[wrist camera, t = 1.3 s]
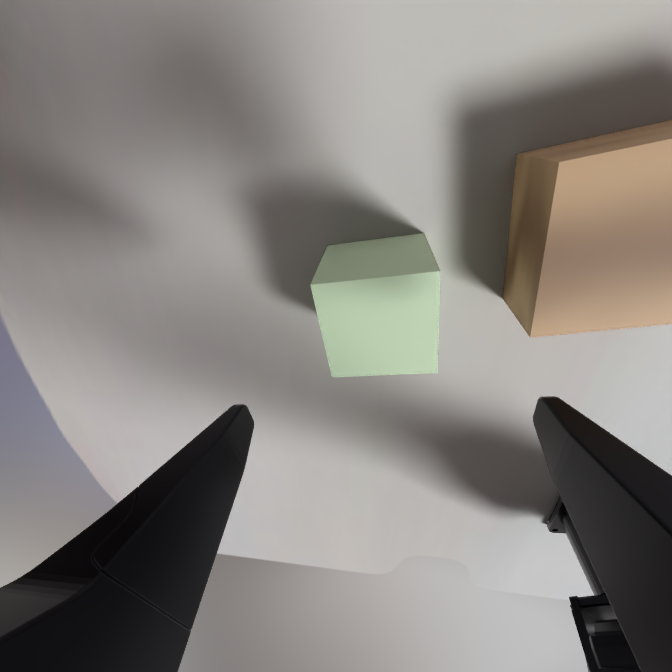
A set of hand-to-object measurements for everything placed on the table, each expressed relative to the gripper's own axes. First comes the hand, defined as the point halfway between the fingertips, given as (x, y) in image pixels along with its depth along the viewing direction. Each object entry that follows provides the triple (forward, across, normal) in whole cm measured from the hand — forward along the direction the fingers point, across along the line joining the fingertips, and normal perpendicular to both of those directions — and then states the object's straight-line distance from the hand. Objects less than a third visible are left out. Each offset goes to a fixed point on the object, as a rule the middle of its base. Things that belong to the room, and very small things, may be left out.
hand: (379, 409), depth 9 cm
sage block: (+9, 0, 0) cm, 9 cm away
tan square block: (+10, -10, -2) cm, 14 cm away
